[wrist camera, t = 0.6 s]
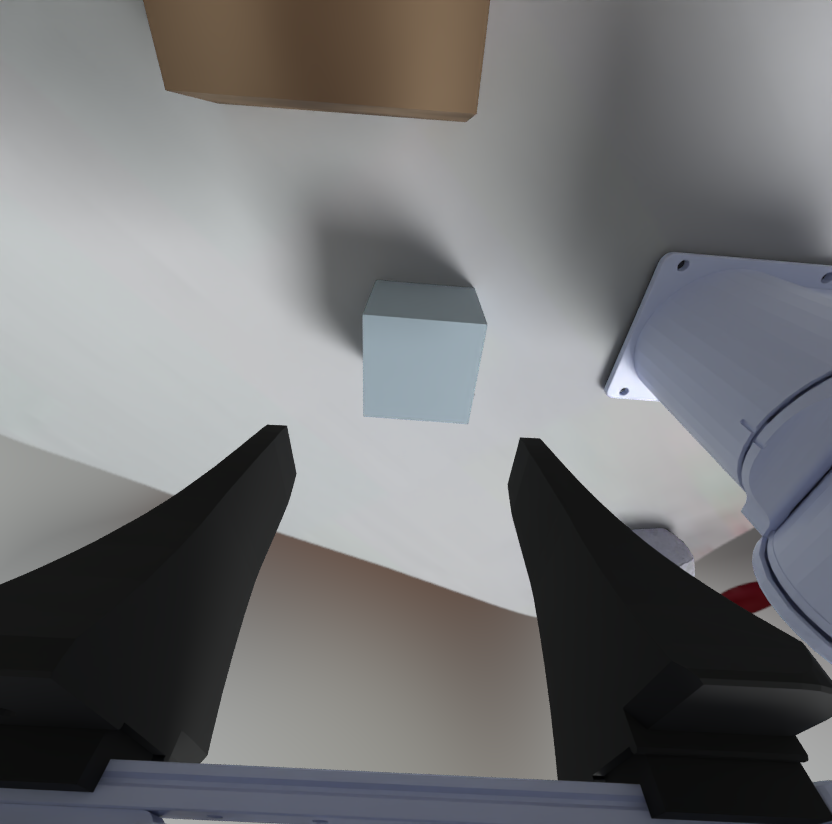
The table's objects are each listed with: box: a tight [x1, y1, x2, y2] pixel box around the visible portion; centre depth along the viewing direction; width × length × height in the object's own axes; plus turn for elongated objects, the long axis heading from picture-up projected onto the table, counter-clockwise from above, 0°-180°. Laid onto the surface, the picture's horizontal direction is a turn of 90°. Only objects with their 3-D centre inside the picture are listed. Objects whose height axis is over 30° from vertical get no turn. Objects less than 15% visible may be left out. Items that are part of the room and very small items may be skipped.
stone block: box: [632, 528, 695, 577], centre depth 32 cm, size 12×5×10 cm
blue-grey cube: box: [363, 280, 487, 424], centre depth 18 cm, size 5×5×5 cm
